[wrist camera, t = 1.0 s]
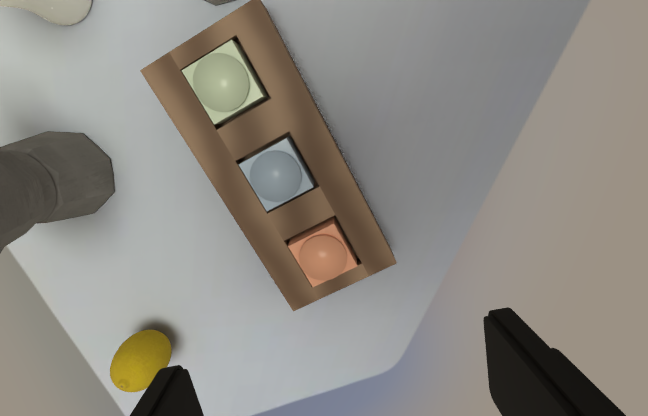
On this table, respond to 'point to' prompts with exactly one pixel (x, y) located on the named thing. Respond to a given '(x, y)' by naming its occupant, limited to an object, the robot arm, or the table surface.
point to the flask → (217, 1)
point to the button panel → (259, 134)
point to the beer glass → (54, 9)
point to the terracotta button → (323, 251)
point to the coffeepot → (50, 181)
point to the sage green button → (225, 82)
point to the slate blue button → (277, 173)
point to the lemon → (140, 360)
